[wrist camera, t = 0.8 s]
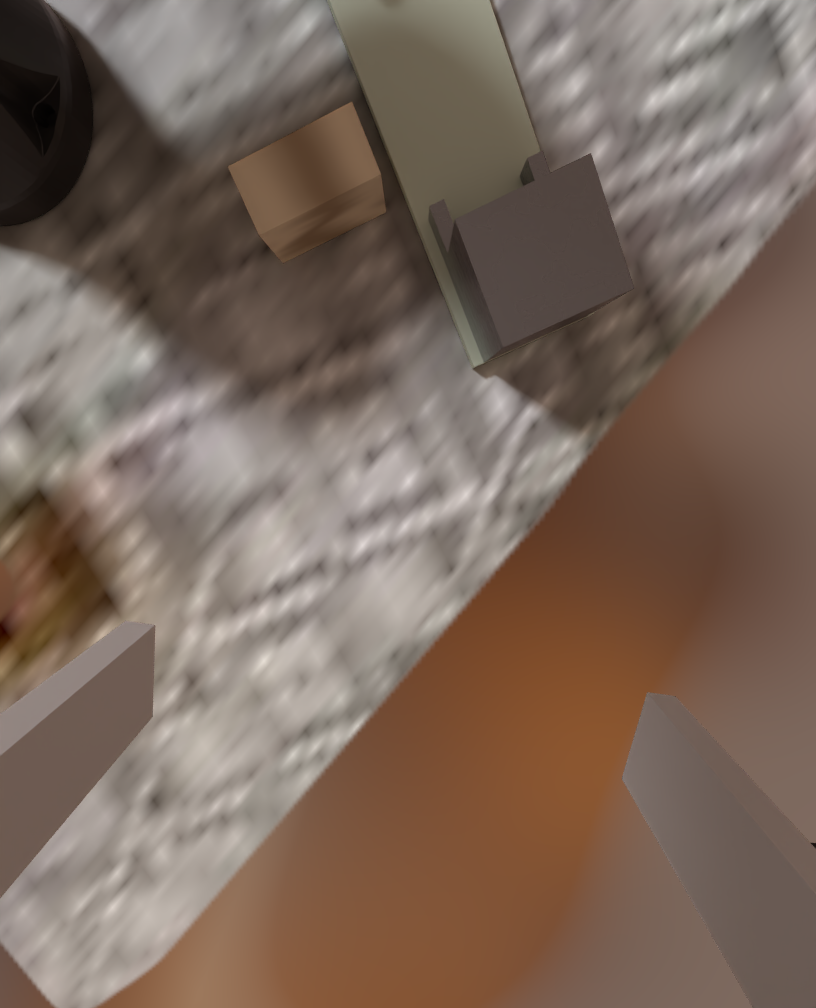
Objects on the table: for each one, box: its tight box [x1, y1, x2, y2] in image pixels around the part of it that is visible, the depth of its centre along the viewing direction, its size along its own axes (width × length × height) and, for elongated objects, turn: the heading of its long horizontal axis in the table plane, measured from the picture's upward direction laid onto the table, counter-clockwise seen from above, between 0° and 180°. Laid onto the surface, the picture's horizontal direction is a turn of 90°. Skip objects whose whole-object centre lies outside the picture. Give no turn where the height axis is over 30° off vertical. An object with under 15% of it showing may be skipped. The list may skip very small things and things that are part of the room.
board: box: [327, 0, 595, 369], centre depth 29 cm, size 28×9×1 cm, turn 24°
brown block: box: [228, 102, 386, 263], centre depth 28 cm, size 8×4×5 cm, turn 114°
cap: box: [428, 151, 634, 362], centre depth 27 cm, size 10×8×7 cm
